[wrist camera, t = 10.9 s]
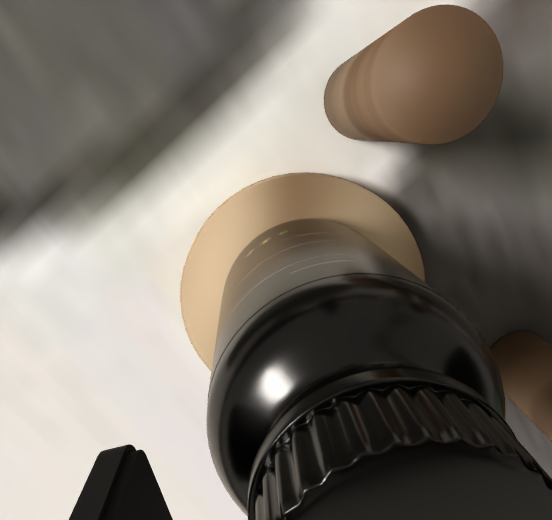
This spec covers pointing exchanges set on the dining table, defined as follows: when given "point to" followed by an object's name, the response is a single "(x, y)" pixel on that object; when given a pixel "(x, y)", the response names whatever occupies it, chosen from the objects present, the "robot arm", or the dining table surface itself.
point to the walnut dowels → (439, 135)
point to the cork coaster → (266, 214)
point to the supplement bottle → (357, 391)
